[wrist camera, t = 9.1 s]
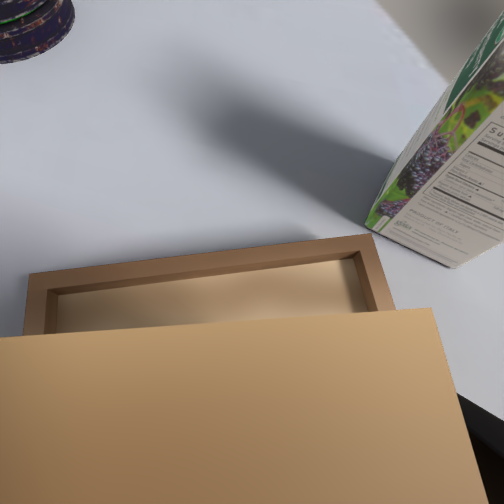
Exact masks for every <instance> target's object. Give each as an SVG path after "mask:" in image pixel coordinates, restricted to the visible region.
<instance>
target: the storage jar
mask: <svg viewBox="0 0 504 504" xmlns="http://www.w3.org/2000/svg"><path fill="white" fill-rule="evenodd" d="M74 19H75V10H74V7H73V4H72V2H71V0H0V64H4V63H12V62H17V61H22V60H26V59H29V58H32V57H35V56H37V55H39V54H41V53H44V52H46V51H47V50H49V49H51V48H52V47H54V46H55V45H57V44H58V43H59V42H60V41H62V40H63V38H64V37H65V36H66V35H67V34H68V33H69V31H70V30H71V28H72V26H73V23H74Z"/></svg>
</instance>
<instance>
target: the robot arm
mask: <svg viewBox="0 0 504 504" xmlns="http://www.w3.org/2000/svg"><path fill="white" fill-rule="evenodd" d="M456 394H457V397H458V400H459V404H460V407H461V411H462V414H463V417H464V421H465V424H466V428H467V431H468V435H469V438H470V441H471V445H472V448H473V452H474V455H475V458H476V462H477V465H478V469H479V472H480V476H481V479H482V482H483V486H484V489H485V493H486V496H487V499H488V503H489V504H504V421H503V420H501V419H499V418H498V417H496V416H494V415H493V414H491V413H489V412H488V411H486V410H484V409H483V408H481V407H479V406H478V405H476V404H474V403H473V402H471V401H469V400H468V399H466V398H464V397H463V396H461V395H459V394H458V393H456Z"/></svg>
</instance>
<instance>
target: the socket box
mask: <svg viewBox="0 0 504 504" xmlns="http://www.w3.org/2000/svg"><path fill="white" fill-rule="evenodd" d="M390 310H396V309H395V305H394V302H393V299H392V296H391V293H390V290H389V287H388V284H387V281H386V278H385V274H384V271H383V268H382V265H381V262H380V259H379V256H378V253H377V250H376V247H375V243H374V240H373V237H372V234H371V233H369V234H360V235H352V236H344V237H335V238H327V239H318V240H310V241H301V242H293V243H285V244H276V245H268V246H259V247H251V248H243V249H234V250H226V251H217V252H209V253H201V254H192V255H184V256H175V257H167V258H158V259H150V260H142V261H133V262H125V263H116V264H108V265H100V266H91V267H83V268H74V269H66V270H57V271H49V272H41V273H32V274H29V282H28V291H27V300H26V310H25V319H24V328H23V336H30V335H45V334H59V333H73V332H88V331H102V330H117V329H131V328H145V327H160V326H174V325H188V324H203V323H217V322H232V321H246V320H260V319H275V318H289V317H303V316H318V315H332V314H347V313H361V312H375V311H390Z"/></svg>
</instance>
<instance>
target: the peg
mask: <svg viewBox="0 0 504 504" xmlns="http://www.w3.org/2000/svg"><path fill="white" fill-rule="evenodd" d="M0 504H489V503H488V499H487V496H486V493H485V489H484V486H483V482H482V479H481V476H480V472H479V469H478V465H477V462H476V458H475V455H474V452H473V448H472V445H471V441H470V438H469V435H468V431H467V428H466V424H465V421H464V417H463V414H462V411H461V407H460V404H459V400H458V397H457V394H456V390H455V387H454V383H453V380H452V376H451V373H450V370H449V366H448V363H447V359H446V356H445V353H444V349H443V346H442V342H441V339H440V335H439V332H438V329H437V325H436V322H435V318H434V315H433V312H432V308H418V309H404V310H390V311H375V312H361V313H347V314H332V315H318V316H303V317H289V318H275V319H260V320H246V321H232V322H217V323H203V324H188V325H174V326H160V327H145V328H131V329H117V330H102V331H88V332H73V333H59V334H45V335H30V336H16V337H2V338H0Z"/></svg>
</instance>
